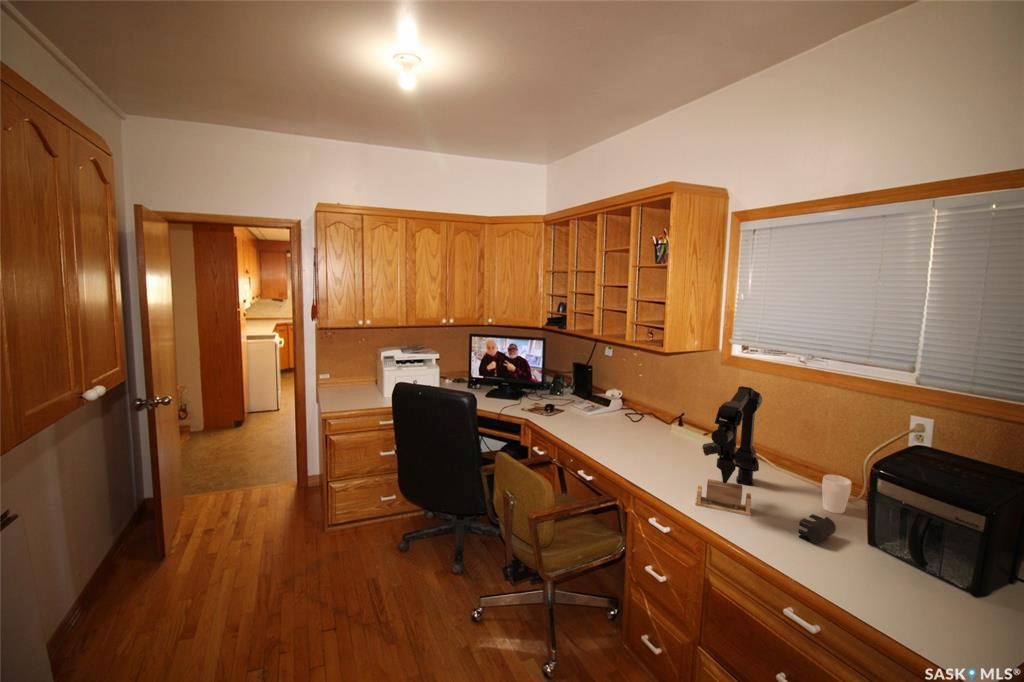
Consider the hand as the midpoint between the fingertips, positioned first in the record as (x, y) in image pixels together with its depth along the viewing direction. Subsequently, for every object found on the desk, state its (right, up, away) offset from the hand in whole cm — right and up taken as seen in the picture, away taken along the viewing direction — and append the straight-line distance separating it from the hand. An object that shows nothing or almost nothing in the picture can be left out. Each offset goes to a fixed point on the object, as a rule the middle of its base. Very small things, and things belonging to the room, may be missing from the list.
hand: (724, 478), depth 182 cm
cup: (+41, -12, 0) cm, 43 cm away
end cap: (+22, -15, -19) cm, 33 cm away
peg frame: (0, -11, +2) cm, 11 cm away
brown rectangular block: (0, -8, +1) cm, 9 cm away
